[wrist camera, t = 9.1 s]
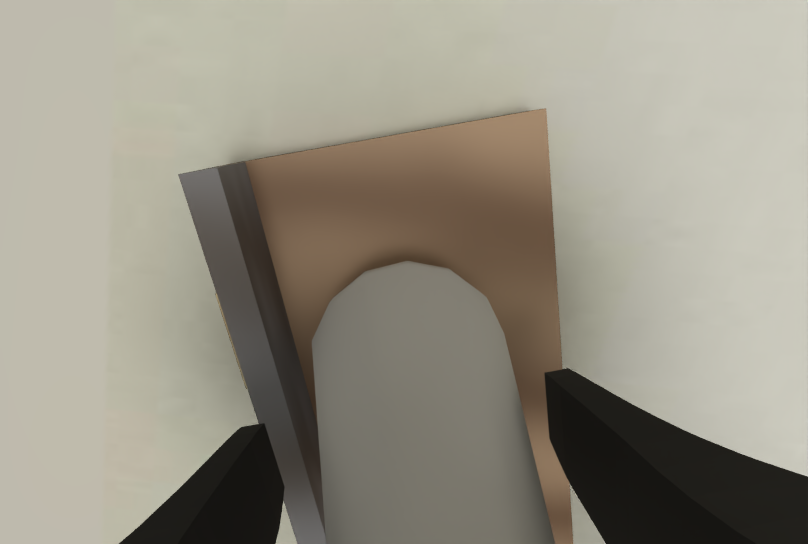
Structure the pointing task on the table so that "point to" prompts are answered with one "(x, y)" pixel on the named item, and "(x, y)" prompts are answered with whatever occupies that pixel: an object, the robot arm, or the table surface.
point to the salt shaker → (421, 416)
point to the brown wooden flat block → (377, 247)
